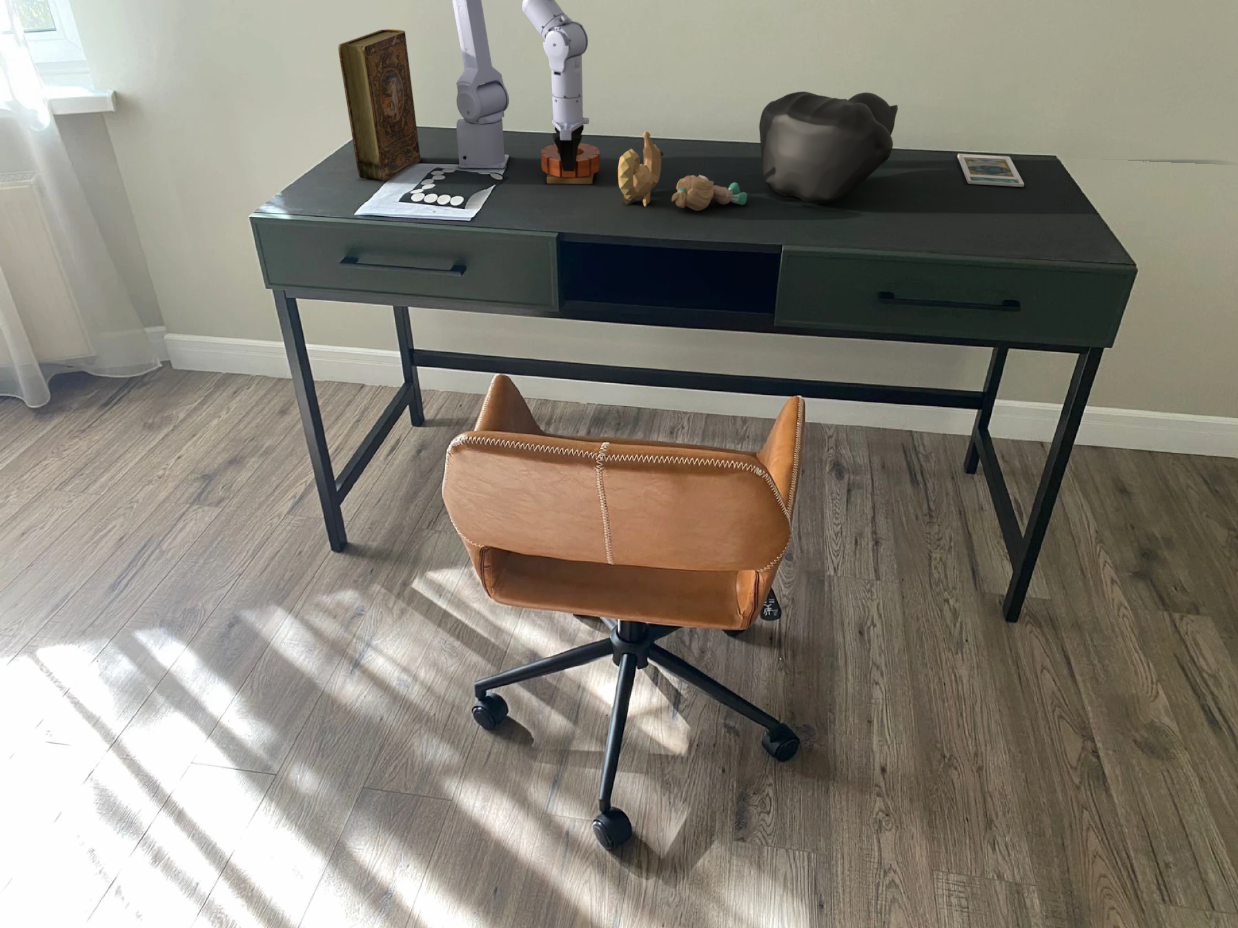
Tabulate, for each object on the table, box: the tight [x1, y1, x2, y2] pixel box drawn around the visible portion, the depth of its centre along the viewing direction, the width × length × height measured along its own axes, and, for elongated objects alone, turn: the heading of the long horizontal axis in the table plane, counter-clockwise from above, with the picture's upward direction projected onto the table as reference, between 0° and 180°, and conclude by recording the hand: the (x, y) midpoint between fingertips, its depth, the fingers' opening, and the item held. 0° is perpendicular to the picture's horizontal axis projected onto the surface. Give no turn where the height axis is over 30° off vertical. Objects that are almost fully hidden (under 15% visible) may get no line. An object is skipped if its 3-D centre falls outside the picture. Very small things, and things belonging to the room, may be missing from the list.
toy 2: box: [671, 174, 748, 212], centre depth 168 cm, size 8×7×15 cm
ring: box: [540, 142, 601, 178], centre depth 181 cm, size 12×12×3 cm
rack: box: [546, 173, 595, 185], centre depth 181 cm, size 9×9×6 cm
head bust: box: [758, 91, 899, 205], centre depth 174 cm, size 28×20×30 cm
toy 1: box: [617, 131, 664, 207], centre depth 168 cm, size 5×12×20 cm
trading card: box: [957, 153, 1025, 188], centre depth 186 cm, size 11×1×18 cm
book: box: [337, 28, 421, 182], centre depth 179 cm, size 16×6×25 cm, turn 161°
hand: (569, 167), depth 178 cm, fingers closed on ring, 3 cm apart
